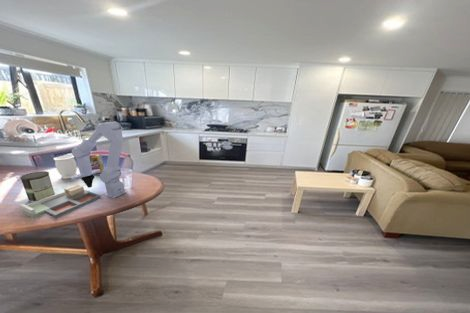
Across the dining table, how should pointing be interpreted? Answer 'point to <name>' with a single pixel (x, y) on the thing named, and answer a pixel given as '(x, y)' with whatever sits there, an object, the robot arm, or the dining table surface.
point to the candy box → (96, 162)
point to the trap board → (58, 204)
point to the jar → (66, 166)
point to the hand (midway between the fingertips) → (89, 186)
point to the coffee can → (37, 185)
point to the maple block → (74, 190)
